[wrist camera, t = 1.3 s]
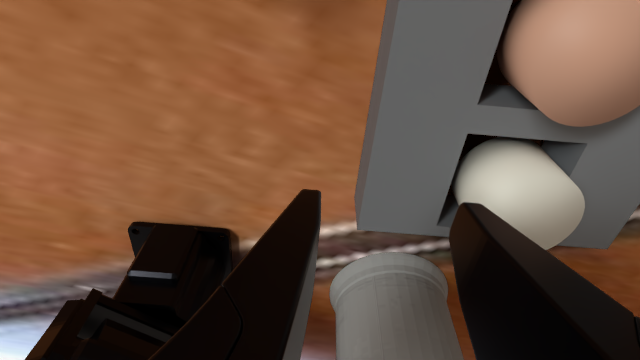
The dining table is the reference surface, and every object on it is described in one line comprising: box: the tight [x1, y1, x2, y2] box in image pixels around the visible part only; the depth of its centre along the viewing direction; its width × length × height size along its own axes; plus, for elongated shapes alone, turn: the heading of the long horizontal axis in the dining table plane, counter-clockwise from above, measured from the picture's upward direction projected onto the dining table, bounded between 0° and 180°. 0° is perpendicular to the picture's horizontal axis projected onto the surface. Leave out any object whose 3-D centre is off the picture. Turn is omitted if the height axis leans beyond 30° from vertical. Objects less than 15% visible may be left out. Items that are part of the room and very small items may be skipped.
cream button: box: [452, 137, 585, 250], centre depth 18 cm, size 5×5×3 cm
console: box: [355, 0, 640, 249], centre depth 16 cm, size 21×14×3 cm, turn 175°
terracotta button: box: [497, 0, 640, 127], centre depth 14 cm, size 5×5×3 cm
